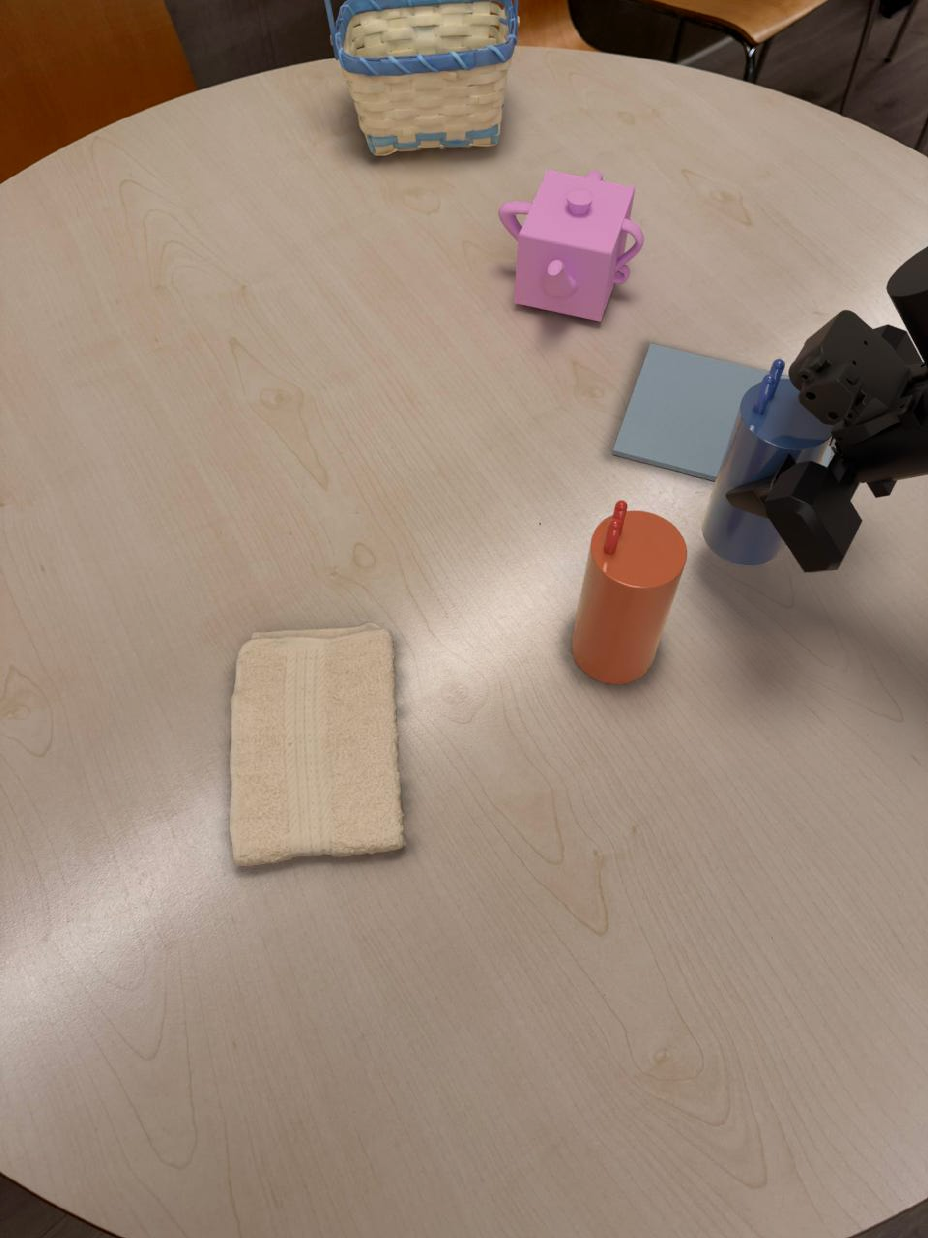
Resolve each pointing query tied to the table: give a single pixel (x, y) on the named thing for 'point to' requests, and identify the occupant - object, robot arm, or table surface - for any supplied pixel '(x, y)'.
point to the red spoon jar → (626, 594)
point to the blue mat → (685, 411)
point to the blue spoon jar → (760, 465)
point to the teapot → (572, 243)
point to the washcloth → (315, 746)
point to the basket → (426, 69)
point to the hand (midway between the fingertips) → (747, 467)
